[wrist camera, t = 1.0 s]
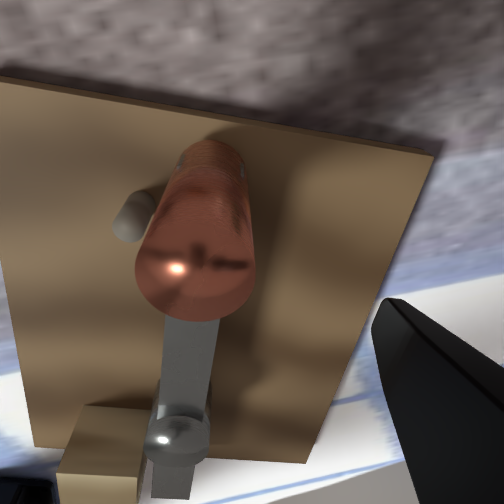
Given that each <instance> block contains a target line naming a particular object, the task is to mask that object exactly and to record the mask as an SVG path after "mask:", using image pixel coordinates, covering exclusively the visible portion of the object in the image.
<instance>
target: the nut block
mask: <svg viewBox="0 0 504 504" xmlns="http://www.w3.org/2000/svg"><path fill="white" fill-rule="evenodd" d="M150 412H151V410H140V409H127V408H114V407H101V406H88V405H83V407H82V409H81V412H80V414H79V417H78V419H77V422H76V424H75V427H74V429H73V432H72V434H71V437H70V439H69V442H68V444H67V447H66V449H65V452H64V454H63V457H62V459H61V462H60V464H59V467H58V469H57V472H56V477H57V484H58V491H59V498H60V504H138V502H139V497H140V492H141V487H142V482H143V477H144V473H145V468H146V463H147V458H148V457H147V456H146V455H145V453H144V450H143V444H144V440H145V435H146V430H147V426H148V421H149V417H150Z"/></svg>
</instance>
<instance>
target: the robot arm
mask: <svg viewBox="0 0 504 504" xmlns="http://www.w3.org/2000/svg"><path fill="white" fill-rule="evenodd" d="M371 335H372V340H373V345H374V349H375V354H376V359H377V364H378V369H379V374H380V379H381V383H382V387H383V391H384V395H385V398H386V402H387V405H388V408H389V411H390V414H391V417H392V420H393V423H394V426H395V429H396V432H397V436H398V439H399V442H400V445H401V448H402V451H403V454H404V457H405V460H406V463H407V467H408V469H409V473H410V476H411V479H412V482H413V485H414V488H415V491H416V494H417V497H418V501H419V503H420V504H504V368H503V367H502V366H500V365H499V364H497V363H496V362H494V361H493V360H491V359H490V358H488V357H487V356H485V355H484V354H482V353H481V352H479V351H478V350H476V349H475V348H474V347H472V346H471V345H469V344H468V343H466V342H465V341H463V340H462V339H460V338H459V337H457V336H456V335H454V334H453V333H451V332H450V331H448V330H447V329H445V328H444V327H443V326H441V325H440V324H438V323H437V322H435V321H434V320H432V319H431V318H429V317H428V316H426V315H425V314H423V313H422V312H420V311H419V310H417V309H416V308H414V307H413V306H412V305H410V304H409V303H407V302H406V301H404V300H402V299H396V298H385V299H384V300H383V301H382V302H381V304H380V307H379V309H378V311H377V314H376V316H375V318H374V321H373V323H372V327H371ZM0 504H56V498H55V491H54V485H53V483H52V482H50V481H42V480H23V479H3V478H0Z"/></svg>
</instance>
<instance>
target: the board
mask: <svg viewBox="0 0 504 504" xmlns="http://www.w3.org/2000/svg"><path fill="white" fill-rule="evenodd" d="M204 140H216V141H220V142H223V143H225V144H227V145H229V146H231V147H232V148H234V149H235V150H236V151H237V152H238V153H239V155H240V156H241V158H242V159H243V161H244V163H245V167H246V171H247V181H248V192H249V203H250V214H251V225H252V235H253V246H254V257H255V268H256V279H255V284H254V288H253V290H252V292H251V294H250V296H249V297H248V299H247V300H246V302H245V303H244V304H243V305H242V306H241V307H240V308H238V309H237V310H236V311H234V312H233V313H231V314H229V315H227V316H225V317H222V318H220V322H219V328H218V334H217V340H216V346H215V352H214V357H213V363H212V369H211V375H210V382H211V384H212V406H211V423H210V440H209V452H208V454H207V456H206V457H205V458H220V459H236V460H252V461H268V462H284V463H301V464H306V462H307V459H308V457H309V455H310V452H311V450H312V448H313V445H314V443H315V440H316V438H317V436H318V433H319V431H320V429H321V426H322V424H323V421H324V419H325V417H326V414H327V412H328V409H329V407H330V405H331V402H332V400H333V398H334V395H335V393H336V390H337V388H338V386H339V383H340V381H341V379H342V376H343V374H344V371H345V369H346V367H347V364H348V362H349V360H350V357H351V355H352V352H353V350H354V348H355V345H356V343H357V340H358V338H359V336H360V333H361V331H362V329H363V326H364V324H365V321H366V319H367V317H368V314H369V312H370V310H371V307H372V305H373V302H374V300H375V298H376V295H377V293H378V291H379V288H380V286H381V283H382V281H383V279H384V276H385V274H386V271H387V269H388V267H389V264H390V262H391V260H392V257H393V255H394V252H395V250H396V248H397V245H398V243H399V241H400V238H401V236H402V233H403V231H404V229H405V226H406V224H407V222H408V219H409V217H410V214H411V212H412V210H413V207H414V205H415V202H416V200H417V198H418V195H419V193H420V191H421V188H422V186H423V183H424V181H425V179H426V176H427V174H428V172H429V169H430V167H431V164H432V162H433V160H434V156H432V155H431V154H429V153H427V152H426V151H424V150H423V149H418V148H412V147H407V146H401V145H395V144H390V143H384V142H378V141H372V140H367V139H361V138H355V137H349V136H344V135H338V134H332V133H327V132H321V131H315V130H309V129H304V128H298V127H292V126H286V125H281V124H275V123H269V122H264V121H258V120H252V119H246V118H241V117H235V116H229V115H223V114H218V113H212V112H206V111H201V110H195V109H189V108H183V107H178V106H172V105H166V104H160V103H155V102H149V101H143V100H138V99H132V98H126V97H120V96H115V95H109V94H103V93H97V92H92V91H86V90H80V89H74V88H69V87H63V86H57V85H52V84H46V83H40V82H34V81H29V80H23V79H17V78H11V77H6V76H0V260H1V266H2V271H3V277H4V282H5V287H6V293H7V298H8V304H9V309H10V315H11V320H12V326H13V331H14V337H15V342H16V348H17V353H18V359H19V364H20V369H21V375H22V380H23V386H24V391H25V397H26V402H27V408H28V413H29V419H30V424H31V430H32V435H33V441H34V446H35V447H41V448H57V449H66V447H67V444H68V442H69V439H70V437H71V434H72V432H73V429H74V427H75V424H76V422H77V419H78V417H79V414H80V412H81V409H82V407H83V405H88V406H101V407H114V408H127V409H140V410H151V408H152V403H153V398H154V394H155V389H156V385H157V382H158V380H159V379H160V377H161V365H162V352H163V339H164V326H165V314H164V313H162V312H161V311H159V310H158V309H156V308H155V307H154V306H152V305H151V304H150V303H149V302H148V301H147V300H146V298H145V297H144V296H143V294H142V293H141V291H140V289H139V287H138V285H137V282H136V278H135V260H136V257H137V254H138V252H139V249H140V247H141V245H142V242H143V240H144V238H145V235H146V233H147V231H148V228H149V226H150V224H151V221H152V219H153V217H154V214H155V212H156V210H157V207H158V205H159V203H160V201H161V198H162V196H163V194H164V191H165V189H166V187H167V184H168V182H169V180H170V177H171V175H172V173H173V170H174V168H175V166H176V163H177V161H178V159H179V157H180V155H181V154H182V153H183V151H184V150H185V149H187V148H188V147H189V146H191V145H192V144H194V143H196V142H199V141H204Z"/></svg>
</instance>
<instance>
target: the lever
mask: <svg viewBox="0 0 504 504" xmlns="http://www.w3.org/2000/svg"><path fill="white" fill-rule="evenodd" d="M135 278H136V282H137V285H138V287H139V289H140V291H141V293H142V294H143V296H144V297H145V298H146V300H147V301H148V302H149V303H150V304H151V305H152V306H154V307H155V308H156V309H158V310H159V311H161V312H162V313H164V314H165V326H164V339H163V352H162V365H161V377H160V379H159V380H158V382H157V385H156V389H155V394H154V398H153V403H152V408H151V412H150V417H149V421H148V426H147V430H146V435H145V440H144V444H143V450H144V453H145V455H146V456H147V457H148V458H149V459H150V460H151V461H153V462H154V467H153V480H152V493H151V498H164V499H185V500H189V497H190V491H191V486H192V480H193V474H194V468H195V464H197V463H199V462H201V461H202V460H203V459H205V457H206V456H207V454H208V452H209V440H210V423H211V406H212V384H211V382H210V375H211V369H212V363H213V357H214V352H215V346H216V340H217V334H218V328H219V322H220V318H222V317H225V316H227V315H229V314H231V313H233V312H234V311H236V310H237V309H238V308H240V307H241V306H242V305H243V304H244V303H245V302H246V300H247V299H248V297H249V296H250V294H251V292H252V290H253V288H254V284H255V279H256V268H255V257H254V246H253V235H252V225H251V214H250V203H249V192H248V181H247V171H246V167H245V163H244V161H243V159H242V158H241V156H240V155H239V153H238V152H237V151H236V150H235V149H234V148H232V147H231V146H229V145H227V144H225V143H223V142H220V141H216V140H204V141H199V142H196V143H194V144H192V145H191V146H189V147H188V148H187V149H185V150H184V151H183V153H182V154H181V155H180V157H179V159H178V161H177V163H176V166H175V168H174V170H173V173H172V175H171V177H170V180H169V182H168V184H167V187H166V189H165V191H164V194H163V196H162V198H161V201H160V203H159V205H158V207H157V210H156V212H155V214H154V217H153V219H152V221H151V224H150V226H149V228H148V231H147V233H146V235H145V238H144V240H143V242H142V245H141V247H140V249H139V252H138V254H137V257H136V260H135Z"/></svg>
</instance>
